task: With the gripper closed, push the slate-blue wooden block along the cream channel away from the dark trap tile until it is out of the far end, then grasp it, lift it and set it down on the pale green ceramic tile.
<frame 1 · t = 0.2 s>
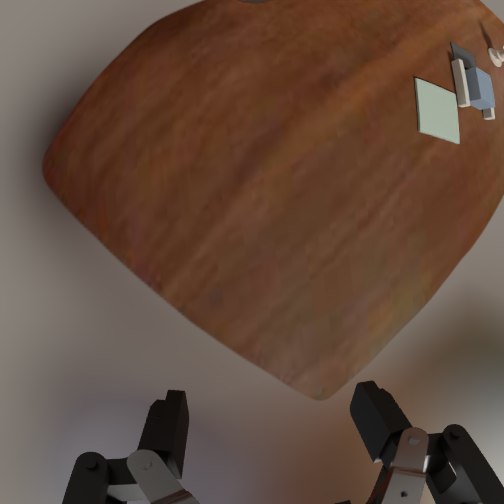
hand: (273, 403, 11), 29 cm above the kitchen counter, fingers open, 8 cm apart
channel: (470, 90, 35), on the kitchen counter
tile: (437, 111, 36), on the kitchen counter
block: (470, 91, 35), on the kitchen counter
white ringed tapered column: (493, 57, 32), on the kitchen counter
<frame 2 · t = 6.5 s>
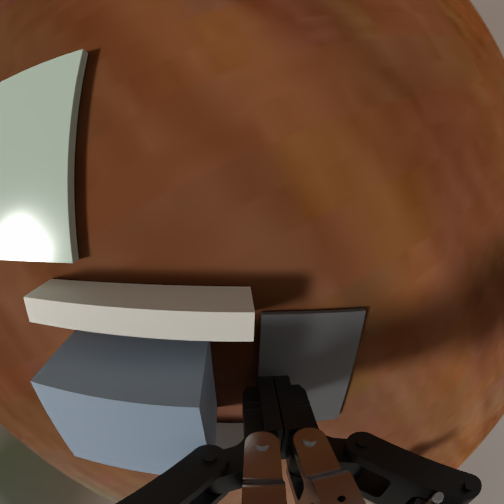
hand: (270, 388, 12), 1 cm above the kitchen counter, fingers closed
channel: (151, 372, 13), on the kitchen counter
tile: (6, 164, 10), on the kitchen counter
block: (147, 370, 13), on the kitchen counter, touching gripper
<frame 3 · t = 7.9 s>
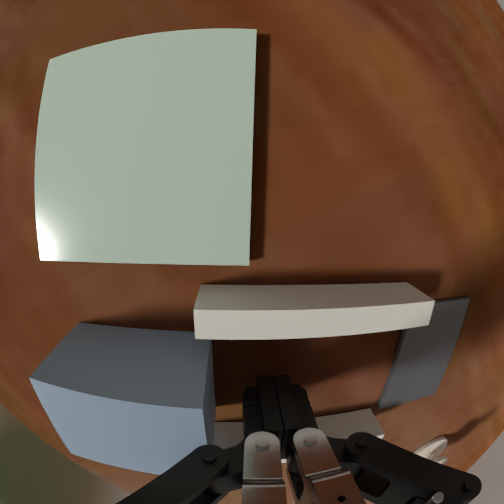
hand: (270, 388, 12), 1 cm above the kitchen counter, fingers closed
channel: (303, 373, 13), on the kitchen counter
tile: (131, 142, 10), on the kitchen counter
block: (146, 369, 13), on the kitchen counter, touching gripper
white ringed tapered column: (424, 452, 18), on the kitchen counter
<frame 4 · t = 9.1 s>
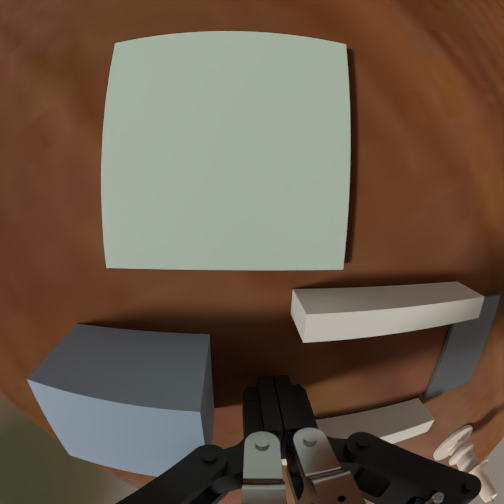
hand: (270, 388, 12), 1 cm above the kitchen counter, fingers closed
channel: (371, 367, 14), on the kitchen counter
tile: (224, 142, 10), on the kitchen counter
block: (145, 371, 13), on the kitchen counter, touching gripper
white ringed tapered column: (451, 440, 18), on the kitchen counter
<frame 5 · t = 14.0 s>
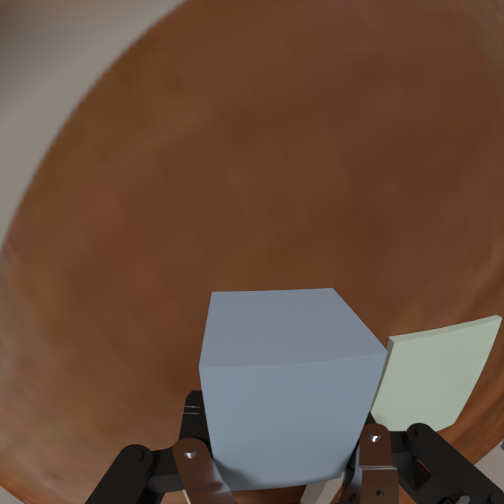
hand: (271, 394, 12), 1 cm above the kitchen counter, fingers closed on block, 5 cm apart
channel: (259, 482, 15), on the kitchen counter
tile: (429, 390, 14), on the kitchen counter
block: (271, 360, 12), on the kitchen counter, touching gripper
when the fingers open (2 cm above the kitchen counter, at t = 19.2 s): block drops 1 cm, resting on tile.
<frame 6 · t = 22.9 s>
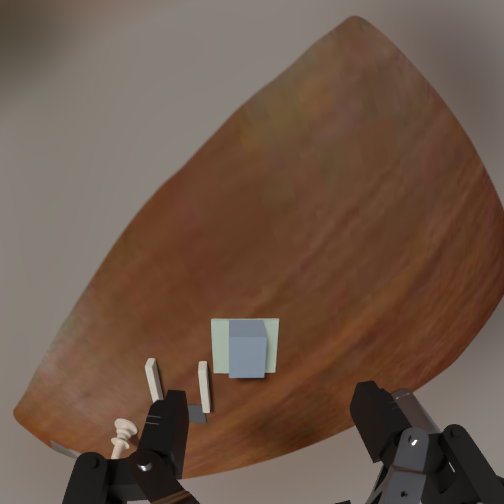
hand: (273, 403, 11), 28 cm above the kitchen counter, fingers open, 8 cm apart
channel: (180, 382, 43), on the kitchen counter
tile: (244, 346, 42), on the kitchen counter
block: (245, 340, 41), point 1 cm above the kitchen counter, touching tile
white ringed tapered column: (126, 425, 46), on the kitchen counter
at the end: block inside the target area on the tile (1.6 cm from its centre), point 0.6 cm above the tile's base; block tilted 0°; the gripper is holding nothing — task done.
